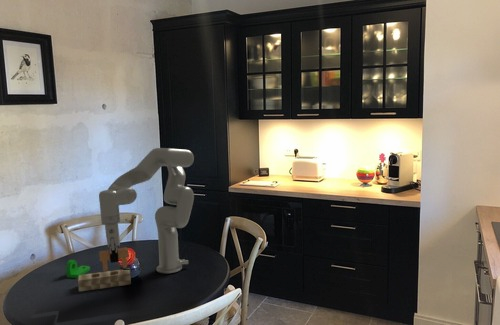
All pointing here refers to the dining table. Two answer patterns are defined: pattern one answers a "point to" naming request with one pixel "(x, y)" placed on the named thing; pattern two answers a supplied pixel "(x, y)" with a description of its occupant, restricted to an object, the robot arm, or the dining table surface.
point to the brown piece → (106, 256)
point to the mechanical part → (75, 269)
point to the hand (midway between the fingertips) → (114, 260)
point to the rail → (104, 280)
